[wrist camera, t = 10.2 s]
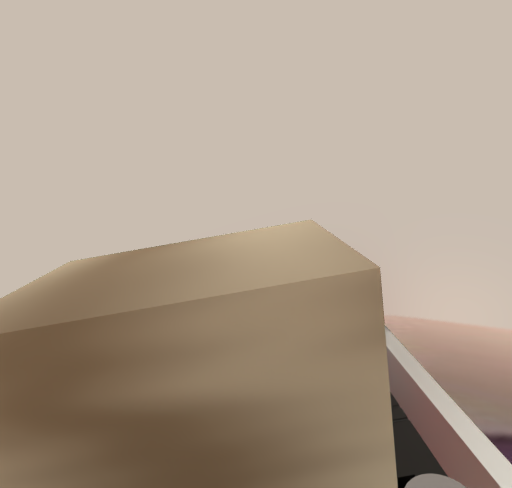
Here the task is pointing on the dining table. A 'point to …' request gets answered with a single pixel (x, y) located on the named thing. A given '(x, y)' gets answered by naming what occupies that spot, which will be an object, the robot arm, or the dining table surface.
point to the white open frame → (444, 423)
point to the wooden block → (200, 368)
